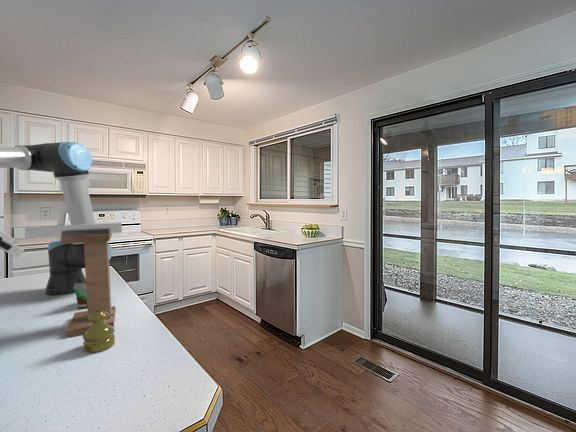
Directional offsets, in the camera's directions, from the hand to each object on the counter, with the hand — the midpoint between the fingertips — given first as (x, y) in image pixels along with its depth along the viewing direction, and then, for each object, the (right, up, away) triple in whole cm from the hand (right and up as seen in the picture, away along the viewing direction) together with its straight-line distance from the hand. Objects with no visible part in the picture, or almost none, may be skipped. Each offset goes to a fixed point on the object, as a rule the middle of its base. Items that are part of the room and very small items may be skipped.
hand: (15, 248), depth 94 cm
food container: (+13, -24, +19) cm, 34 cm away
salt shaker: (+36, -26, -13) cm, 46 cm away
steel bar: (+23, +5, -4) cm, 23 cm away
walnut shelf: (+24, -25, +2) cm, 35 cm away
